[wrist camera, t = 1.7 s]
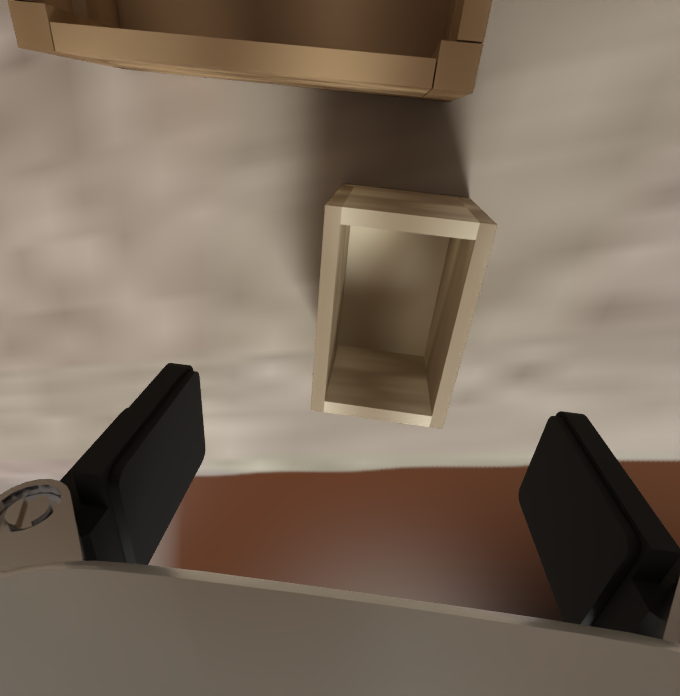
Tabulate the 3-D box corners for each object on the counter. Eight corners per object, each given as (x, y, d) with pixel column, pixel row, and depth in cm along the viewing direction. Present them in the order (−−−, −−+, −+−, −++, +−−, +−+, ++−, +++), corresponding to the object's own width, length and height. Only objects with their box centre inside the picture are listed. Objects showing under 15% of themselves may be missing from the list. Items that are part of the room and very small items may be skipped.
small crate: (469, 197, 20) (497, 225, 14) (431, 361, 24) (442, 428, 19) (342, 183, 20) (324, 204, 15) (328, 348, 24) (310, 409, 19)
